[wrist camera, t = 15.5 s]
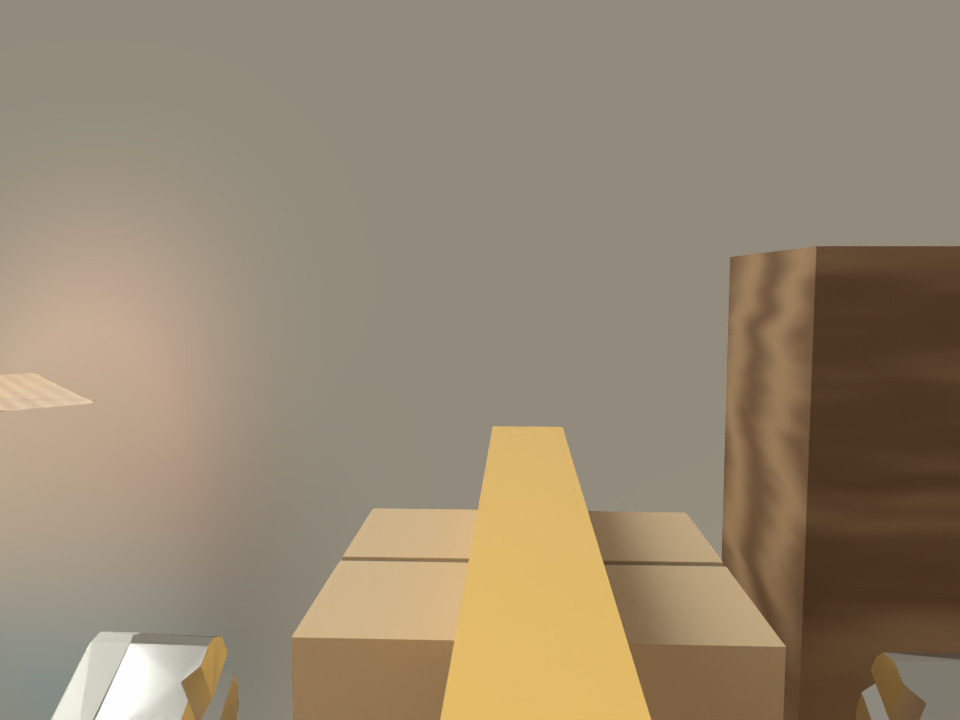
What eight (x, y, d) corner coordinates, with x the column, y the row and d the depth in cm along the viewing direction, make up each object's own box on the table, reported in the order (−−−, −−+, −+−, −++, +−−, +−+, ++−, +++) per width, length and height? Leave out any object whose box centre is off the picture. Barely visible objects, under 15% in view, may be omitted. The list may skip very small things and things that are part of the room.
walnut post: (1117, 949, 32) (1169, 246, 29) (790, 938, 32) (816, 246, 30) (952, 767, 44) (980, 257, 41) (716, 761, 44) (730, 257, 42)
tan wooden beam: (662, 952, 11) (666, 770, 11) (432, 944, 11) (432, 764, 11) (561, 483, 37) (562, 426, 37) (492, 483, 37) (492, 426, 37)
